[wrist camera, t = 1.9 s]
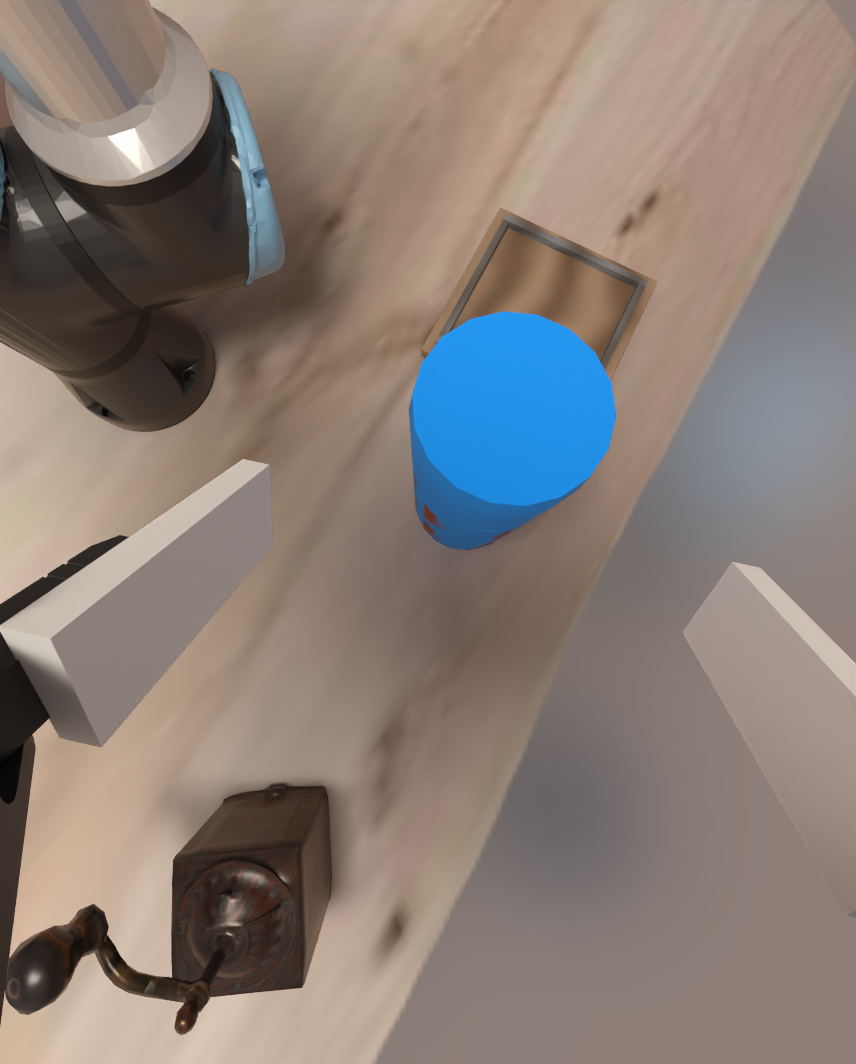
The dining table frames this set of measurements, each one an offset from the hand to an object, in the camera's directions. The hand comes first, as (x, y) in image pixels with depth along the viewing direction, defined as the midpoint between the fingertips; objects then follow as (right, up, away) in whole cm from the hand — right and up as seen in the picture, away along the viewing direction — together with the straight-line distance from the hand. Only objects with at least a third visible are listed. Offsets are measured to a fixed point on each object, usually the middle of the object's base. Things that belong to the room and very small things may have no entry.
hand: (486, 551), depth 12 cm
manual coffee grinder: (-19, -31, +29) cm, 46 cm away
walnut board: (+12, +26, +37) cm, 46 cm away
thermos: (+2, +4, +34) cm, 34 cm away
